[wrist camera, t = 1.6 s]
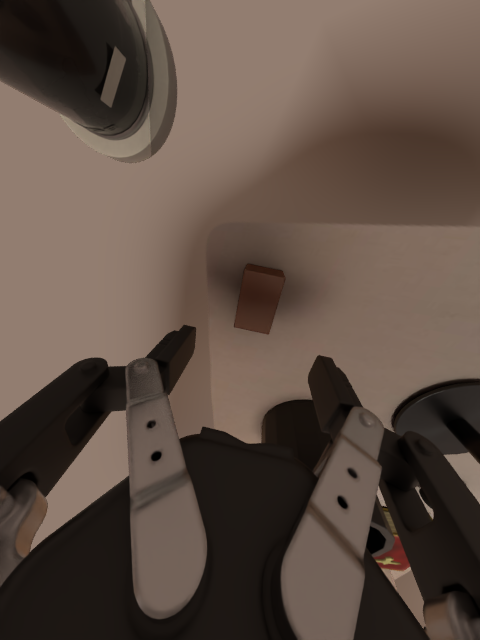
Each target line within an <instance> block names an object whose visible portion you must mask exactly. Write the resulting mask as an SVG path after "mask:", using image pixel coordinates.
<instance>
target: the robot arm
mask: <svg viewBox="0 0 480 640" xmlns="http://www.w3.org/2000/svg"><path fill="white" fill-rule="evenodd" d="M0 81H1V82H3V83H5V84H7V85H8V86H10V87H12V88H14V89H16V90H18V91H19V92H21V93H23V94H25V95H27V96H29V97H31V98H32V99H34V100H36V101H38V102H39V103H41V104H43V105H45V106H47V107H49V108H50V109H53V110H54V111H56V112H58V113H60V114H62V115H63V116H65V117H67V118H69V119H71V120H72V121H73V122H76V123H77V124H78V125H80V126H82V127H84V128H85V129H87V130H88V131H90V132H92V133H94V134H95V135H97V136H99V137H102V138H104V139H108V140H123V139H126V138H128V137H130V136H132V135H133V134H135V133H136V132H137V131H138V130H139V129H140V127H141V126H142V125H143V123H144V121H145V120H146V118H147V115H148V113H149V110H150V106H151V102H152V97H153V87H154V74H153V63H152V56H151V51H150V47H149V43H148V40H147V36H146V33H145V31H144V28H143V25H142V23H141V21H140V19H139V17H138V15H137V13H136V11H135V9H134V7H133V6H132V0H0ZM195 338H196V328H195V327H191V326H187V325H183V327H182V328H181V329H180V330H179V331H172V332H170V333H168V334H167V335H166V336H165V337H164V338H163V340H161V341H160V342H159V344H157V345H156V347H155V348H154V349H153V350H152V351H151V352H150V353H149V354H148V355H147V356H146V357H145V358H140V359H136V360H134V361H132V362H130V363H129V364H128V365H127V366H117V367H116V366H114V367H108V364H107V361H106V360H104V359H102V358H88V359H84V360H82V361H79V362H77V363H76V364H74V365H73V366H71V367H70V368H69V369H68V370H67V371H65V372H64V373H62V374H61V375H60V376H59V377H57V378H56V379H55V380H53V381H52V382H51V383H50V384H48V385H47V386H46V387H44V388H43V389H42V390H40V391H39V392H38V393H36V394H35V395H34V396H33V397H32V398H30V399H29V400H28V401H26V402H25V403H24V404H22V405H21V406H20V407H18V408H17V409H16V410H14V411H13V412H12V413H11V414H9V415H8V416H7V417H6V418H4V419H3V420H1V421H0V640H480V504H479V503H478V501H477V500H476V499H475V497H474V496H473V495H472V493H471V492H470V490H469V489H468V488H467V486H466V485H465V484H464V482H463V481H462V480H461V478H460V477H459V476H458V474H457V473H456V471H455V470H454V469H453V467H452V466H451V465H450V463H449V462H448V461H447V459H446V458H445V456H444V455H443V454H442V452H441V451H440V450H439V449H438V448H437V447H436V446H435V445H434V444H433V443H432V442H431V441H430V440H428V439H427V438H426V437H424V436H422V435H420V434H418V433H416V432H413V431H407V432H405V433H404V434H403V435H402V436H400V435H398V434H396V433H394V432H392V431H390V430H388V429H386V428H384V427H383V424H382V422H381V421H380V420H379V419H378V417H377V416H375V415H374V414H373V413H372V412H370V411H369V410H367V409H365V408H363V406H362V405H361V403H360V401H359V399H358V397H357V395H356V393H355V392H354V390H353V388H352V386H351V384H350V383H349V380H348V379H347V377H346V375H345V374H344V373H343V372H342V371H341V370H340V369H339V368H338V367H336V365H335V363H334V361H333V359H332V358H329V357H325V356H320V355H319V356H317V358H316V360H315V362H314V364H313V366H312V368H311V370H310V372H309V375H308V384H309V387H310V391H311V395H312V398H313V402H314V406H315V410H316V413H317V417H318V421H319V424H320V428H321V432H324V433H329V434H330V435H331V439H330V440H329V442H328V444H327V446H326V448H325V450H324V451H323V453H322V455H321V457H320V459H319V461H318V463H317V465H316V466H315V468H314V470H313V471H311V470H310V469H309V468H308V467H307V466H306V465H305V464H304V463H302V462H301V461H300V460H298V459H297V458H295V457H294V451H293V448H290V447H286V446H281V445H277V444H273V443H257V444H247V443H244V442H243V441H241V440H239V439H237V438H235V437H233V436H231V435H230V434H228V433H226V432H223V431H219V430H215V429H210V428H206V427H202V430H201V433H200V434H194V435H189V436H186V437H183V438H181V439H179V437H178V433H177V430H176V426H175V422H174V418H173V414H172V410H171V407H170V403H169V399H168V395H169V394H170V393H171V391H172V390H173V388H174V386H175V384H176V383H177V381H178V379H179V378H180V376H181V374H182V372H183V370H184V369H185V367H186V365H187V364H188V362H189V360H190V359H191V357H192V355H193V352H194V348H195ZM123 410H126V418H127V440H128V461H129V476H128V477H126V478H125V479H124V480H122V481H121V482H120V483H118V484H117V485H116V486H114V487H113V488H112V489H110V490H109V491H108V492H106V493H105V494H104V495H102V496H101V497H100V498H99V499H97V500H96V501H94V502H93V503H92V504H91V505H89V506H88V507H87V508H85V509H84V510H83V511H81V512H80V513H79V514H77V515H76V516H75V517H73V518H72V519H71V520H69V521H68V522H67V523H65V524H64V525H63V526H61V527H60V528H59V529H57V530H56V531H55V532H53V533H52V534H51V535H49V536H48V537H47V538H45V539H44V540H43V541H42V542H41V543H39V544H38V545H37V546H36V547H35V548H34V549H33V550H32V551H31V552H30V548H31V544H32V541H33V538H34V536H35V534H36V532H37V531H38V529H39V527H40V525H41V524H42V522H43V520H44V518H45V516H46V513H47V508H48V503H47V500H46V498H45V497H46V496H47V495H48V494H49V492H50V491H51V490H52V488H53V487H54V486H55V484H56V483H57V482H58V481H59V479H60V478H61V477H62V475H63V474H64V473H65V471H66V470H67V469H68V467H69V466H70V465H71V464H72V462H73V461H74V460H75V458H76V457H77V456H78V454H79V453H80V452H81V450H82V449H83V448H84V447H85V445H86V444H87V443H88V441H89V440H90V439H91V437H92V436H93V435H94V434H95V432H96V431H97V430H98V428H99V427H100V426H101V424H102V423H103V422H104V421H105V419H106V418H107V416H108V415H109V414H110V413H111V411H123ZM419 484H420V486H421V488H422V489H423V491H424V493H425V495H426V497H427V498H428V500H429V502H430V504H431V506H432V508H433V512H434V518H433V520H432V519H431V517H430V516H429V514H428V512H427V510H426V508H425V506H424V504H423V502H422V500H421V499H420V497H419V495H418V493H417V491H416V489H415V487H416V486H417V485H419ZM378 485H379V488H380V490H381V493H382V495H383V498H384V501H385V503H386V506H387V508H388V511H389V513H390V516H391V518H392V521H393V523H394V526H395V529H396V531H397V534H398V536H399V539H400V541H401V544H402V546H403V549H404V552H405V554H406V557H407V559H408V562H409V564H410V567H411V569H412V572H413V574H414V577H415V580H416V582H417V585H418V587H419V590H420V592H421V595H422V597H423V600H424V606H423V616H424V621H425V624H426V627H424V629H423V628H422V626H421V625H420V623H419V622H418V621H417V619H416V618H415V616H414V615H413V613H412V612H411V611H410V609H409V608H408V606H407V605H406V604H405V602H404V601H403V599H402V598H401V596H400V595H399V593H398V592H397V591H396V589H395V588H394V586H393V585H392V583H391V582H390V581H389V579H388V578H387V576H386V575H385V573H384V572H383V570H382V569H381V568H380V566H379V565H378V563H377V562H376V560H375V559H374V558H373V556H372V555H371V553H370V552H369V550H368V549H367V548H366V542H367V538H368V533H369V528H370V523H371V518H372V514H373V509H374V504H375V499H376V494H377V490H378Z"/></svg>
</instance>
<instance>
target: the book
mask: <svg viewBox="0 0 480 640" xmlns="http://www.w3.org/2000/svg"><path fill="white" fill-rule="evenodd" d="M382 509H383V511H384V513H385V516H386V518H387V521H388V523H389V525H390V528H391V530H392V533H393V535H394V538H395V542H394V545H393V547H392V550H390V551H388V552H386V553H384V554H382V555H380V556H377V557H373V558H374V559H375V560H376V562H377V563H378V565H379V566H380V568H382V569H389V570H397V571H404V570H406V569H407V568H408V567H410V564H409V562H408V559H407V557H406V554H405V552H404V549H403V546H402V544H401V541H400V539H399V536H398V534H397V531H396V529H395V526H394V523H393V521H392V518H391V516H390V513H389V511H388V508H382ZM429 516H430V515H429ZM430 517H431V516H430ZM431 519H432V518H431ZM432 520H433V519H432Z"/></svg>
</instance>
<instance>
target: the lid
mask: <svg viewBox="0 0 480 640" xmlns="http://www.w3.org/2000/svg"><path fill="white" fill-rule="evenodd" d="M394 431H395V433H396V434H398V435H400V436H402V435H403V434H404V433H405V432H407V431H413V432H416V433H418V434H420V435H422V436H424V437H426V438H427V439H428V440H430V441H431V442H432V443H433V444H434V445H435V446H436V447H437V448H438V449H439V450H440V451H441V452H442V454H443V455H446V454H460V453H467V452H469V453H470V454H471V455H472V456H473V457H474V458H475V459H476V461H477V462H478V463H479V464H480V383H462V384H455V385H450V386H445V387H441V388H438V389H435V390H432V391H430V392H427V393H425V394H423V395H421V396H419V397H417V398H415V399H414V400H412V401H411V402H409V403H408V404H407V405H406V406H405V407H404V408H403V409H401V411H400V412H399V413H398V415H397V417H396V419H395V422H394Z"/></svg>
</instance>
